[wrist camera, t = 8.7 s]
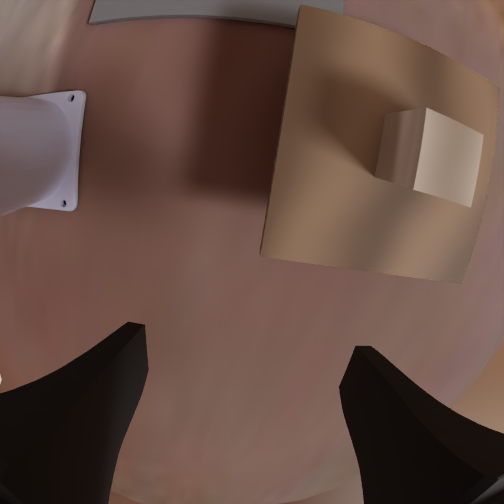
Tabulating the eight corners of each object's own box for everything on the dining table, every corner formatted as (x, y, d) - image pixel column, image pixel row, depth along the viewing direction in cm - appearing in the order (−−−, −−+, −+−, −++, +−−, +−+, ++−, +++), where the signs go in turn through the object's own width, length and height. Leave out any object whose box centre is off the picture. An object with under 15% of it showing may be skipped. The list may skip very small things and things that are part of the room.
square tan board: (259, 250, 15) (263, 293, 10) (297, 11, 10) (315, -35, 6) (454, 278, 15) (496, 313, 11) (491, 88, 11) (542, 85, 7)
